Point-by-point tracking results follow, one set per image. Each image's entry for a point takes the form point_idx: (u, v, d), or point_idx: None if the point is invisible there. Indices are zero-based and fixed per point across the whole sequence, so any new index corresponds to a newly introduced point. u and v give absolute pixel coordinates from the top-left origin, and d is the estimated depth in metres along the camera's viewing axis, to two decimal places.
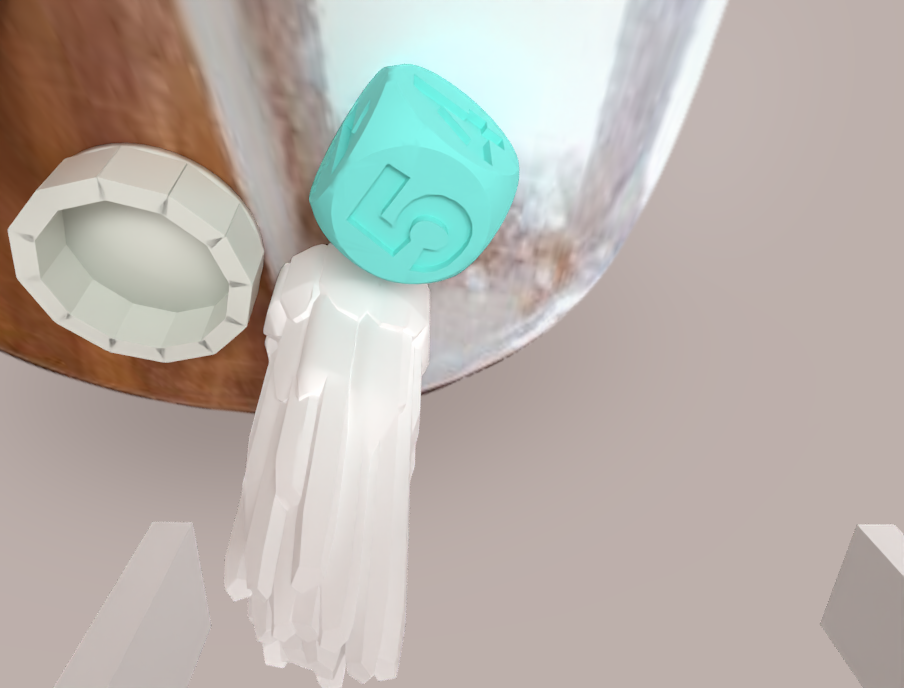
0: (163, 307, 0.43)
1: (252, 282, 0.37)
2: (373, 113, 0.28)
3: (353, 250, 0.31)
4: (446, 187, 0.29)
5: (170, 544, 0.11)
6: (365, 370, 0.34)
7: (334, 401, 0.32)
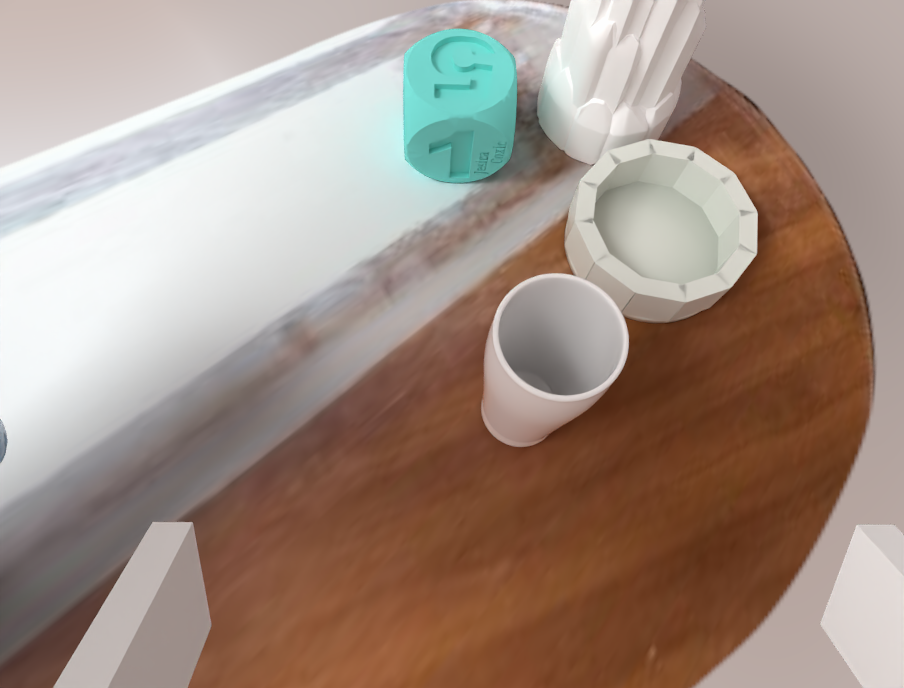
0: (704, 217, 0.49)
1: None
2: (420, 129, 0.44)
3: (505, 86, 0.44)
4: (426, 65, 0.45)
5: (170, 544, 0.11)
6: (574, 17, 0.43)
7: (593, 1, 0.41)
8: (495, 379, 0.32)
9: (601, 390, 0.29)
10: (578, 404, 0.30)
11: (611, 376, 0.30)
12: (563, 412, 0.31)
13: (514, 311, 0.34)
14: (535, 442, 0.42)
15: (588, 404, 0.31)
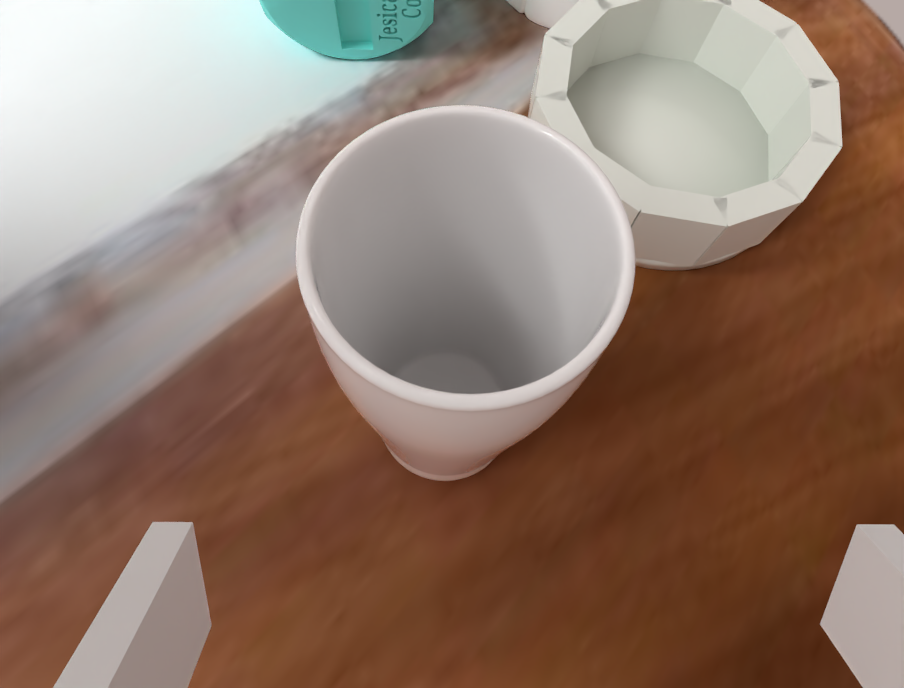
0: (744, 105, 0.31)
1: None
2: None
3: None
4: None
5: (170, 544, 0.11)
6: None
7: None
8: None
9: (567, 379, 0.11)
10: (511, 415, 0.12)
11: (592, 343, 0.12)
12: (480, 434, 0.13)
13: (388, 215, 0.16)
14: (468, 474, 0.24)
15: (539, 414, 0.13)
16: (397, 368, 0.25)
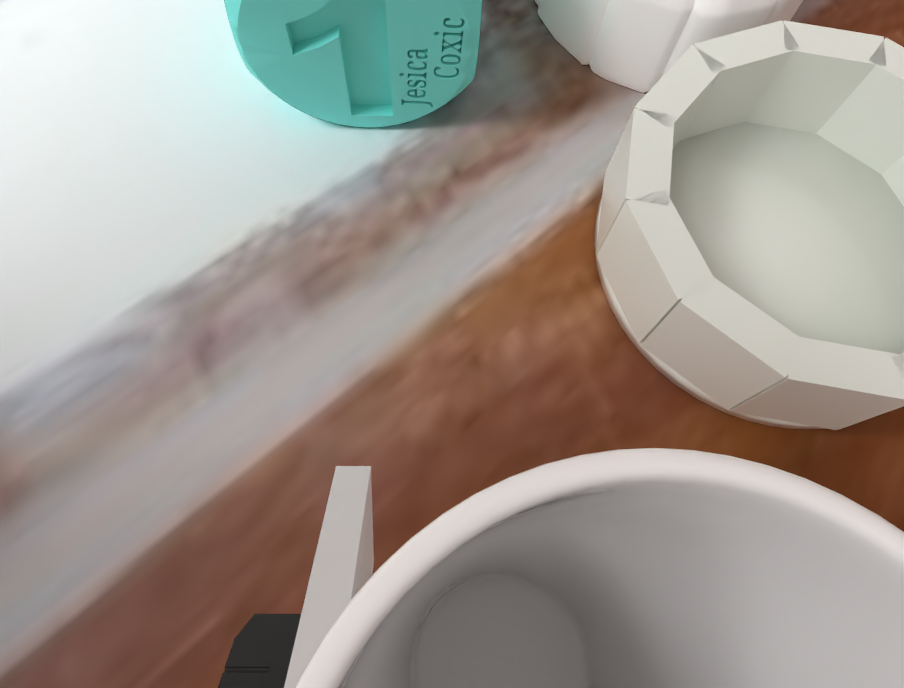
0: (888, 193, 0.23)
1: None
2: None
3: None
4: None
5: (359, 483, 0.13)
6: None
7: None
8: None
9: None
10: None
11: None
12: None
13: None
14: None
15: None
16: (429, 610, 0.17)
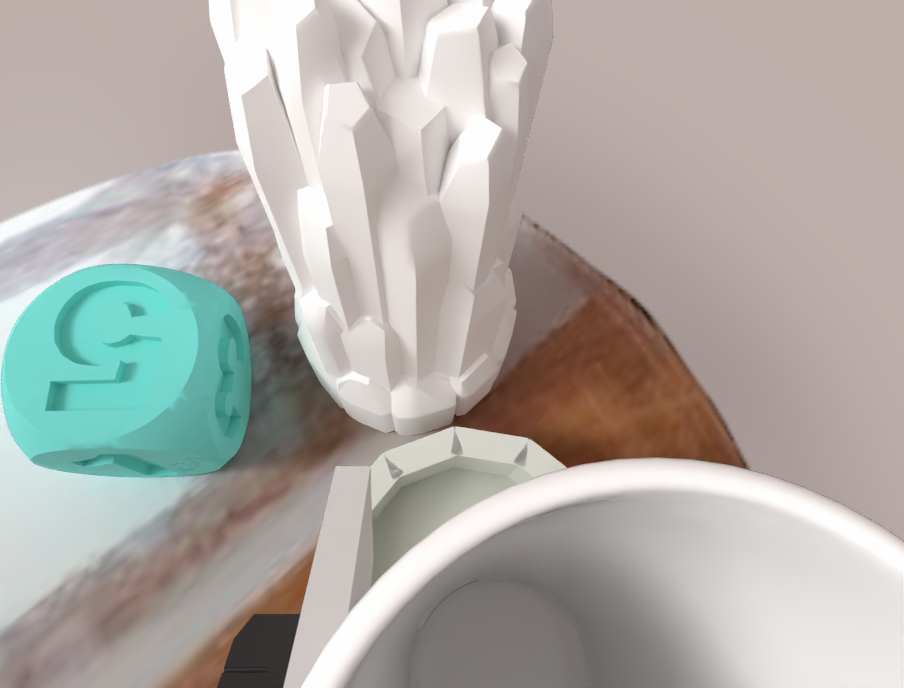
0: None
1: None
2: (34, 455, 0.26)
3: (178, 379, 0.25)
4: (44, 343, 0.26)
5: (358, 483, 0.13)
6: None
7: (290, 266, 0.22)
8: None
9: None
10: None
11: None
12: None
13: None
14: None
15: None
16: (429, 614, 0.17)
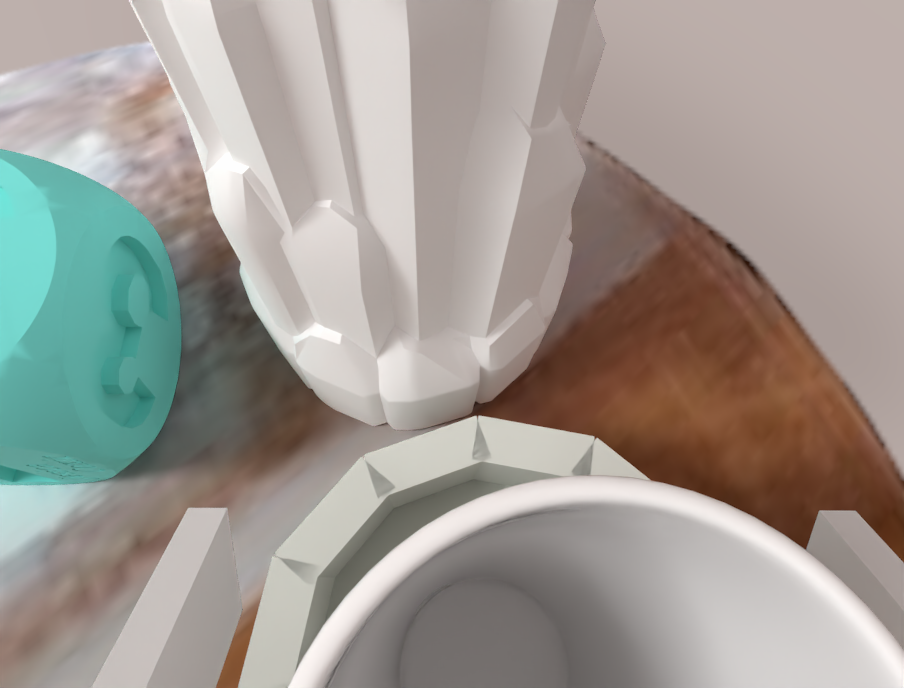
0: None
1: (362, 457, 0.18)
2: None
3: (14, 323, 0.15)
4: None
5: (207, 528, 0.12)
6: None
7: (178, 95, 0.12)
8: None
9: None
10: None
11: None
12: None
13: None
14: None
15: None
16: (418, 611, 0.18)
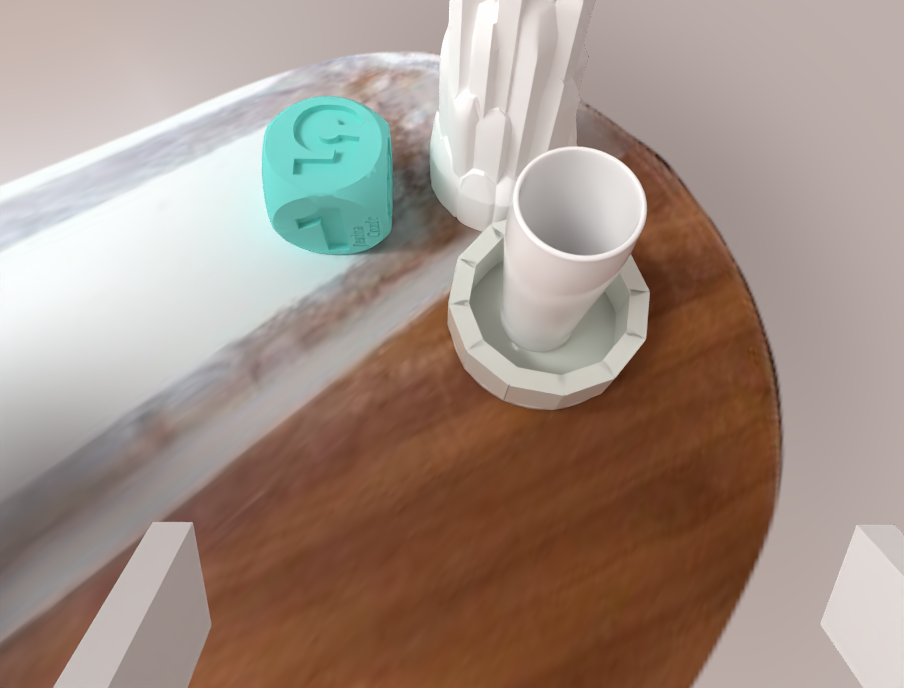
0: None
1: None
2: (280, 206, 0.41)
3: (371, 159, 0.41)
4: (287, 138, 0.41)
5: (170, 544, 0.11)
6: (442, 86, 0.40)
7: (453, 74, 0.38)
8: (515, 250, 0.32)
9: (619, 251, 0.30)
10: (596, 268, 0.31)
11: (629, 239, 0.30)
12: (582, 280, 0.32)
13: (534, 193, 0.35)
14: (553, 345, 0.43)
15: (606, 271, 0.31)
16: None
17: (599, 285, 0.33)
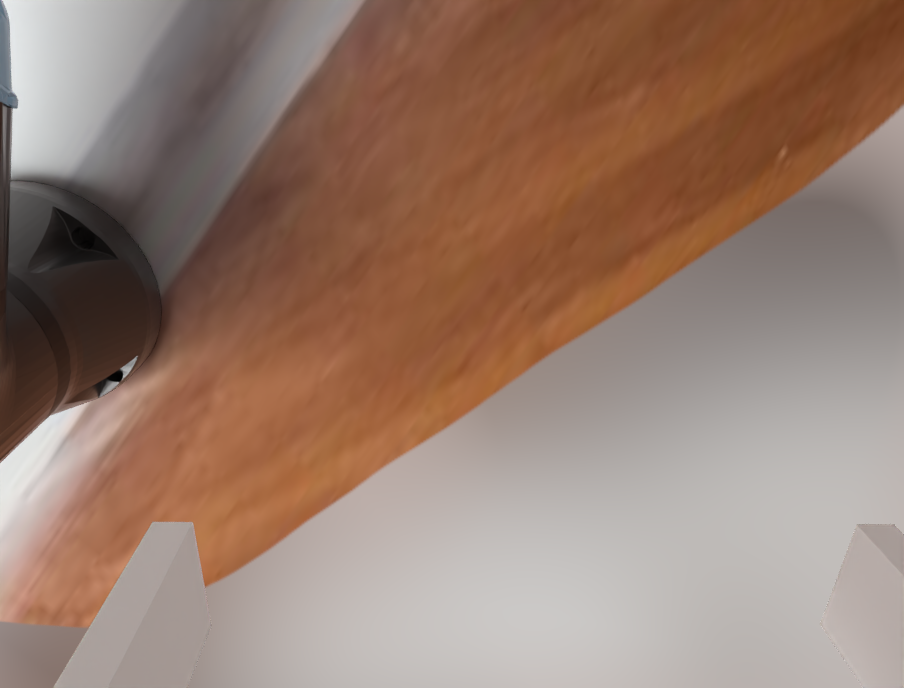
0: None
1: None
2: None
3: None
4: None
5: (170, 544, 0.11)
6: None
7: None
8: None
9: None
10: None
11: None
12: None
13: None
14: None
15: None
16: None
17: None
